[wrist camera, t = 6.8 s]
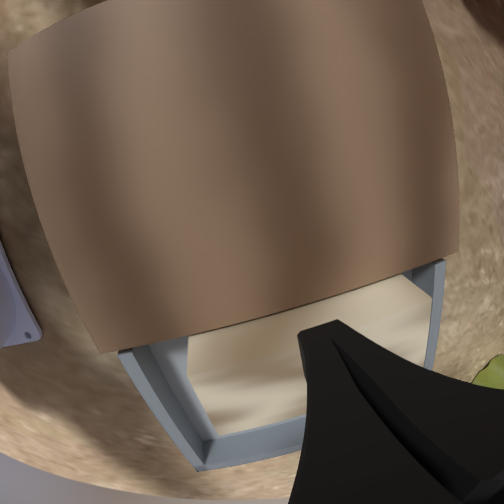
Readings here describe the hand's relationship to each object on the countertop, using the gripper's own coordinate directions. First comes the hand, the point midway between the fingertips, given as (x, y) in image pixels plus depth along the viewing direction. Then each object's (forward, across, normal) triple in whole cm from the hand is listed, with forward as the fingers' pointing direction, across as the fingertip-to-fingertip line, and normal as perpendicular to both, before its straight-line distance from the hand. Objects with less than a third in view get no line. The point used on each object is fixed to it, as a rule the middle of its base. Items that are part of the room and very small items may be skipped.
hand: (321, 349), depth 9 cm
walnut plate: (+7, 0, -6) cm, 9 cm away
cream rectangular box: (+4, 0, +1) cm, 4 cm away
